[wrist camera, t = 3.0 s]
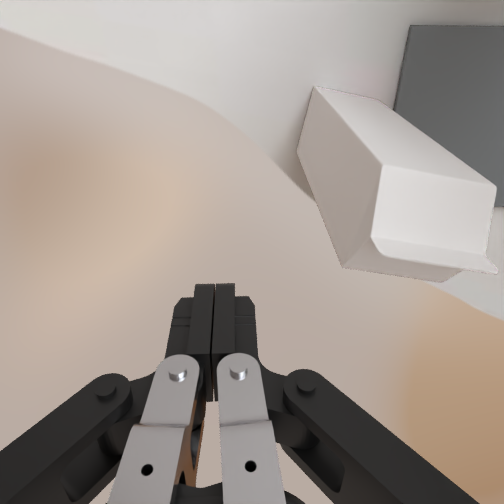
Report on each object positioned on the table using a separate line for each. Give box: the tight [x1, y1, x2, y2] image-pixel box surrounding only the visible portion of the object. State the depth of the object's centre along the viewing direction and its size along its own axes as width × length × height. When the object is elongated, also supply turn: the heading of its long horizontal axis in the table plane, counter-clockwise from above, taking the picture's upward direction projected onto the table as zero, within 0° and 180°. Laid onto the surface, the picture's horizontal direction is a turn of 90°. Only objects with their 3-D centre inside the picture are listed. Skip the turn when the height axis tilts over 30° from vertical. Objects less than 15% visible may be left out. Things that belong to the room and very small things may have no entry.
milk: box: [296, 86, 499, 282], centre depth 27 cm, size 6×6×22 cm
